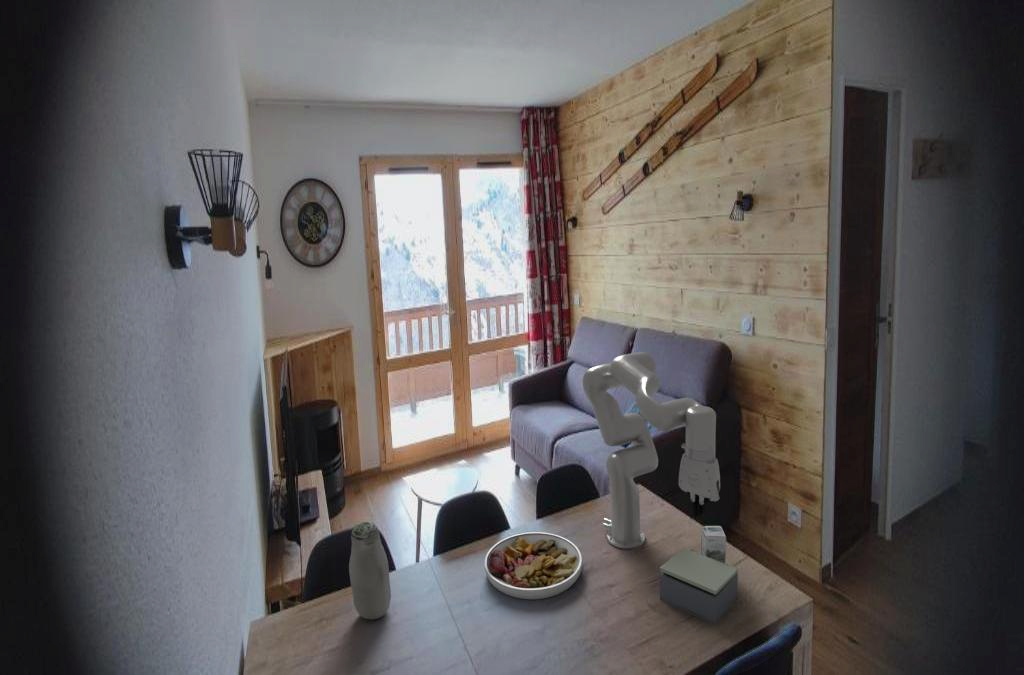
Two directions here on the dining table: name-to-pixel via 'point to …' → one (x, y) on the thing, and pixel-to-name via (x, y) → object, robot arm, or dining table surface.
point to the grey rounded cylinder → (369, 572)
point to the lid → (699, 570)
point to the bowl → (533, 565)
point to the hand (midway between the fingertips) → (699, 514)
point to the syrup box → (713, 543)
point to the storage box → (698, 597)
